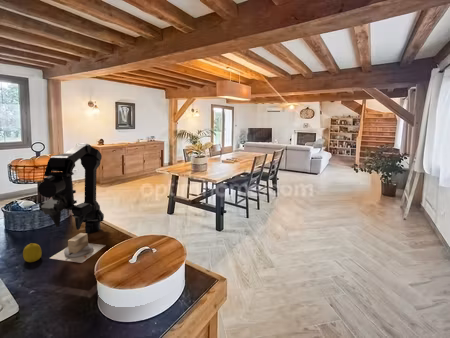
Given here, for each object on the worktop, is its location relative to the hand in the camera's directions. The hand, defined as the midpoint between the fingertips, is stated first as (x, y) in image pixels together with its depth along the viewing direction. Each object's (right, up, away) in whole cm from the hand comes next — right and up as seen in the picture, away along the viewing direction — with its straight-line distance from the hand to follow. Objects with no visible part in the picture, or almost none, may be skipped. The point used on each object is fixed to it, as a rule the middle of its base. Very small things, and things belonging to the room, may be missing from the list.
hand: (67, 227), depth 99 cm
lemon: (-11, -13, -3) cm, 17 cm away
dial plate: (+2, -12, +4) cm, 13 cm away
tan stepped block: (+2, -10, +4) cm, 11 cm away
